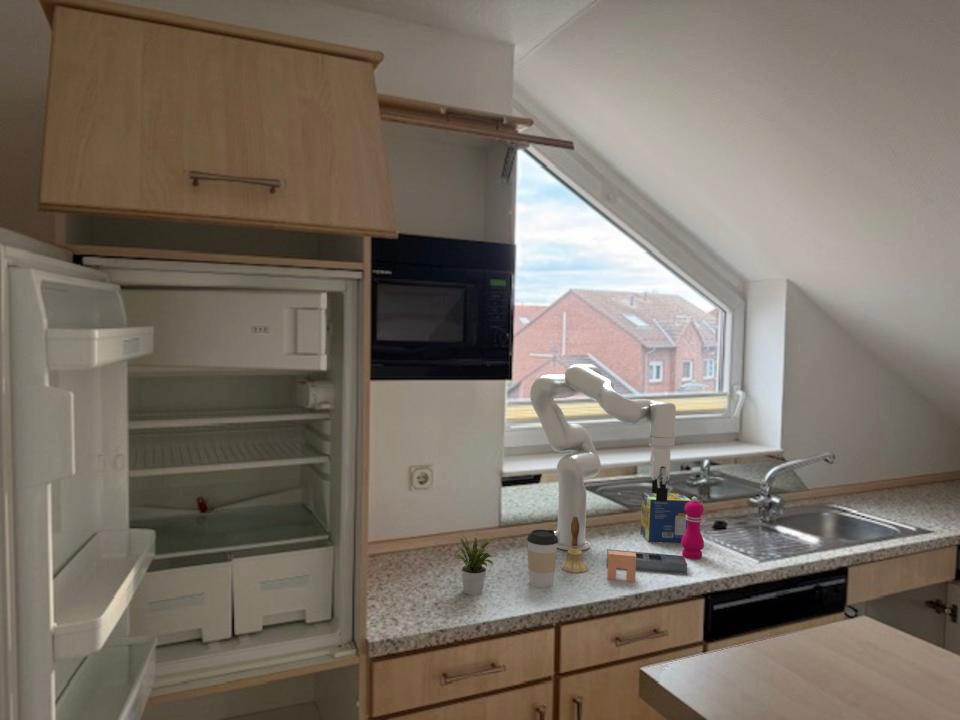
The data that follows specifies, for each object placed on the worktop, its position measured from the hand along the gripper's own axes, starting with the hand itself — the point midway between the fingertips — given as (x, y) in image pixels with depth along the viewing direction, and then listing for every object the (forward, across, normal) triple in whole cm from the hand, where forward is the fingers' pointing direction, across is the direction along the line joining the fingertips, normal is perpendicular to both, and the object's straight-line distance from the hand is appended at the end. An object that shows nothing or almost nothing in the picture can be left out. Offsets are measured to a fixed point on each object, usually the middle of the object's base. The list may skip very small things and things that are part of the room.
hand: (659, 497), depth 201 cm
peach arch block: (+23, +10, -12) cm, 27 cm away
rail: (+23, -3, -3) cm, 23 cm away
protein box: (+23, -35, +8) cm, 42 cm away
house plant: (+23, +30, -54) cm, 66 cm away
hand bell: (+23, +4, -25) cm, 34 cm away
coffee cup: (+23, +18, -35) cm, 46 cm away
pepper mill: (+23, -16, +14) cm, 31 cm away
